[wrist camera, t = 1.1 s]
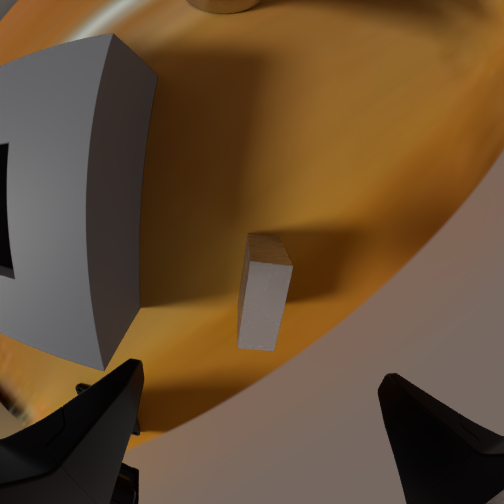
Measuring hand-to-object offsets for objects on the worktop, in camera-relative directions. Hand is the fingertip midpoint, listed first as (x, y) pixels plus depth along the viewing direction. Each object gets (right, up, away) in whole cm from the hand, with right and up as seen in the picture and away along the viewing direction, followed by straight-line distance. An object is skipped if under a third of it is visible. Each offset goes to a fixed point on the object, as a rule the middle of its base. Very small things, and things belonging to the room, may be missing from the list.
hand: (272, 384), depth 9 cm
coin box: (-15, +9, +7) cm, 18 cm away
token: (0, +3, +10) cm, 10 cm away
